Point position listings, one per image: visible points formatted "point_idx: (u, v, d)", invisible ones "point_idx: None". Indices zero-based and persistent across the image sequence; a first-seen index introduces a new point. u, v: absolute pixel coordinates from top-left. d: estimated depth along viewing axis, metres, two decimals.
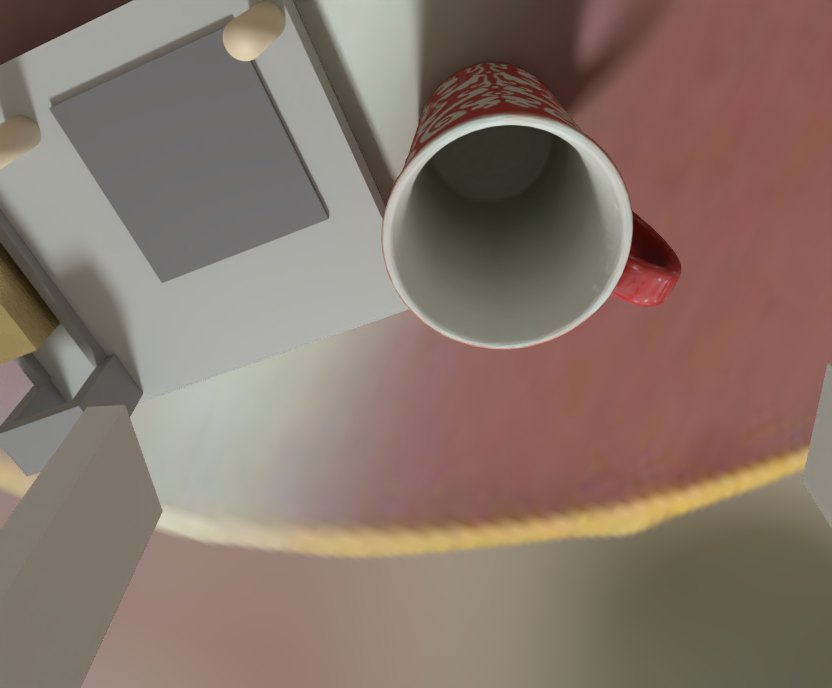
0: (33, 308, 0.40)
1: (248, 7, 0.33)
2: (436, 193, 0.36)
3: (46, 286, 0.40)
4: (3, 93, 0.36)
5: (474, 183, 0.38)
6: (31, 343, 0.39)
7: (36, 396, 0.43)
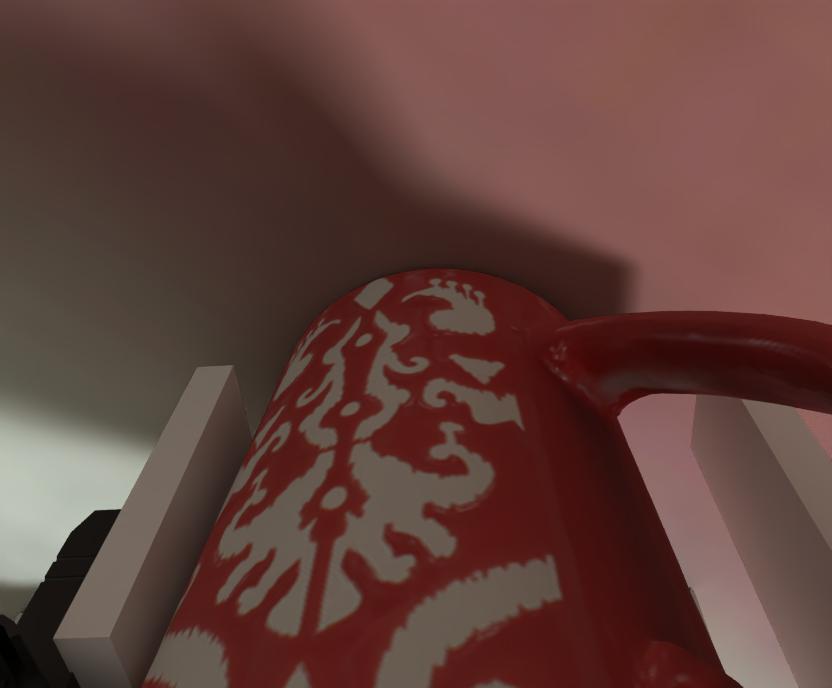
0: None
1: None
2: None
3: None
4: None
5: None
6: None
7: None
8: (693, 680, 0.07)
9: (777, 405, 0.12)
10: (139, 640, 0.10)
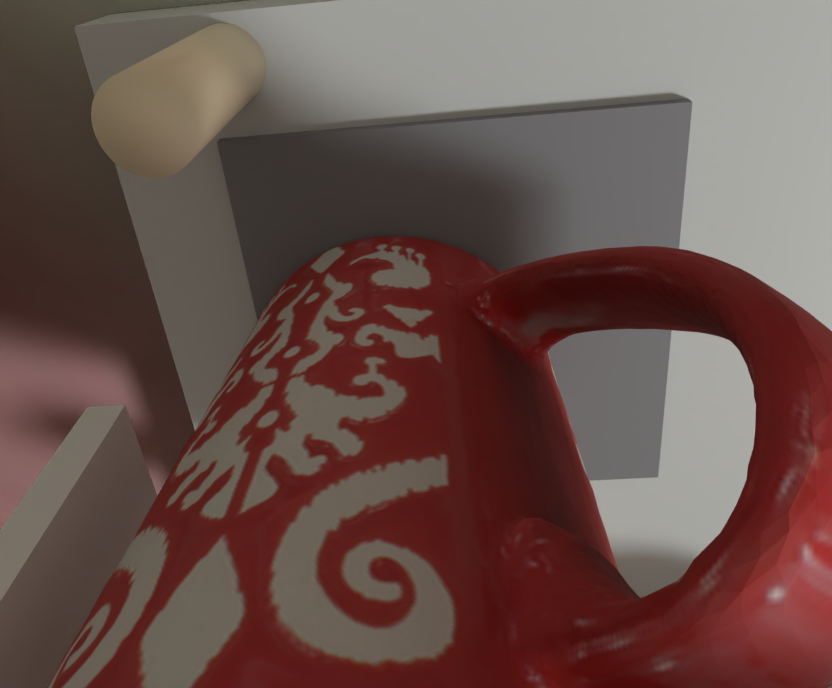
0: None
1: None
2: None
3: None
4: None
5: None
6: None
7: None
8: (549, 541, 0.09)
9: None
10: None
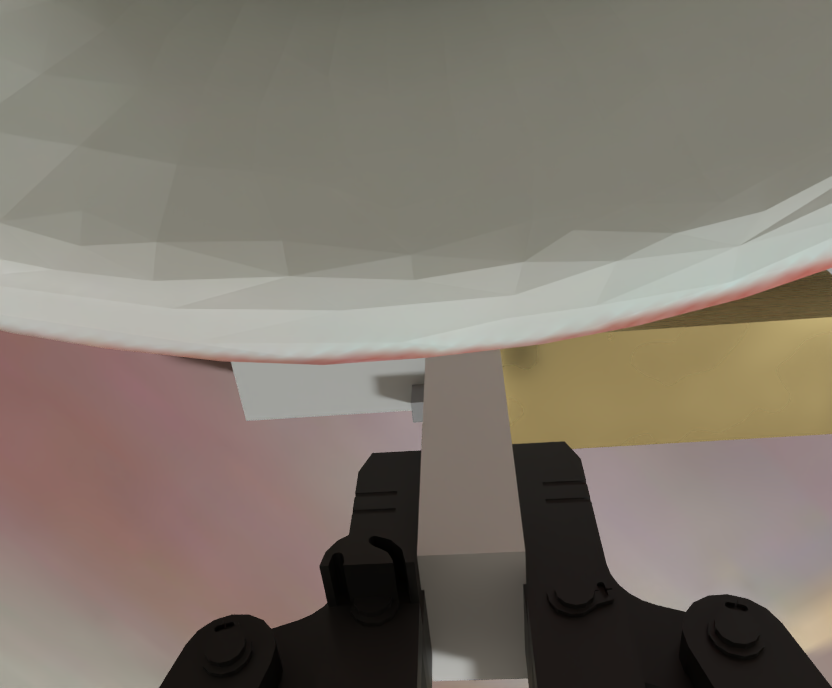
0: None
1: None
2: None
3: None
4: None
5: None
6: None
7: None
8: None
9: (490, 383, 0.14)
10: None
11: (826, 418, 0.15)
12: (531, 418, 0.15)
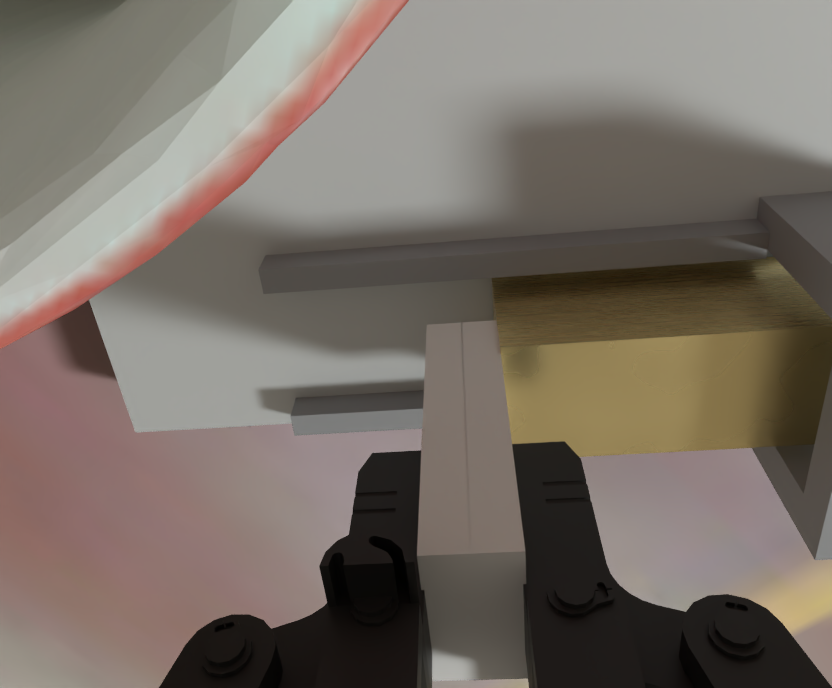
0: (753, 286, 0.16)
1: None
2: None
3: (518, 249, 0.16)
4: None
5: None
6: None
7: None
8: None
9: (490, 383, 0.14)
10: None
11: None
12: (532, 426, 0.15)
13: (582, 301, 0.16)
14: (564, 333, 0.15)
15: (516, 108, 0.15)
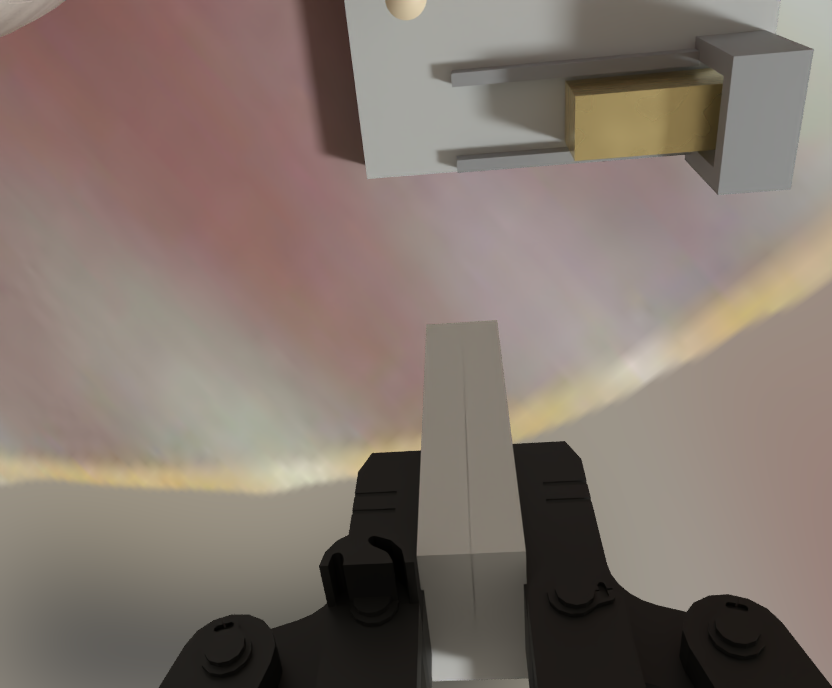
0: (693, 76, 0.33)
1: None
2: None
3: (579, 61, 0.34)
4: None
5: None
6: None
7: None
8: None
9: (491, 383, 0.14)
10: None
11: None
12: (588, 140, 0.33)
13: (611, 84, 0.33)
14: (604, 91, 0.32)
15: None
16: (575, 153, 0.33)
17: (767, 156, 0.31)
